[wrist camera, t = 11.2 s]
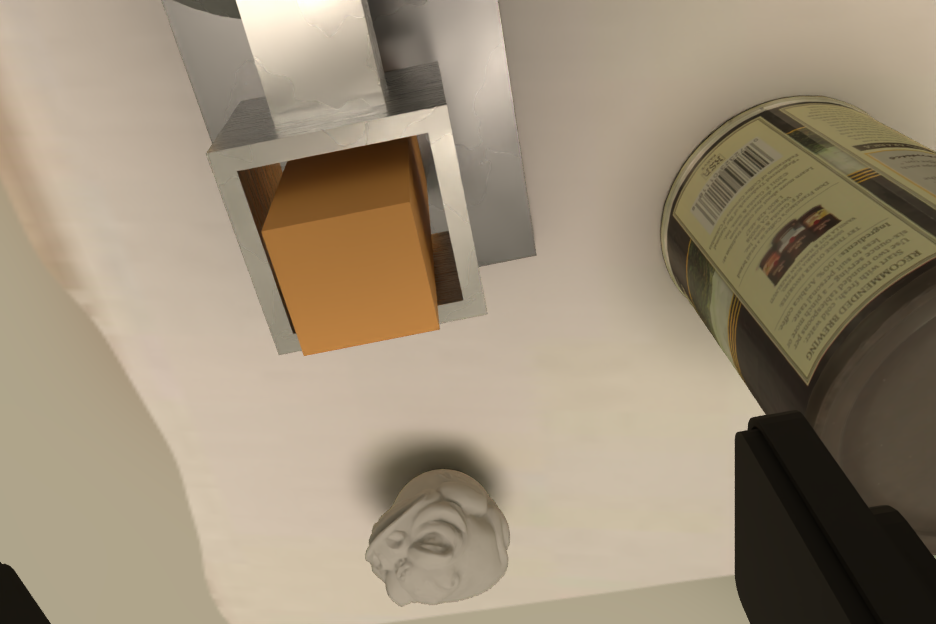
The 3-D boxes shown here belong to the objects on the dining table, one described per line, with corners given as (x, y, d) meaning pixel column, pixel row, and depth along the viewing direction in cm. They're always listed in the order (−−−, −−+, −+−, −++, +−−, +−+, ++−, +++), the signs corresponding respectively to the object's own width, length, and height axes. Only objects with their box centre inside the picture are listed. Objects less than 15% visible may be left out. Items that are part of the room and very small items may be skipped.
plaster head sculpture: (412, 411, 37) (414, 520, 31) (529, 473, 39) (553, 585, 33) (342, 495, 39) (332, 611, 33) (457, 548, 41) (468, 666, 35)
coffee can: (840, 334, 37) (1062, 571, 24) (629, 305, 35) (754, 544, 23) (947, 116, 32) (1291, 276, 19) (707, 70, 30) (920, 214, 18)
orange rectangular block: (307, 106, 28) (261, 231, 19) (406, 86, 28) (409, 201, 19) (333, 199, 30) (304, 355, 21) (426, 180, 30) (439, 329, 20)
